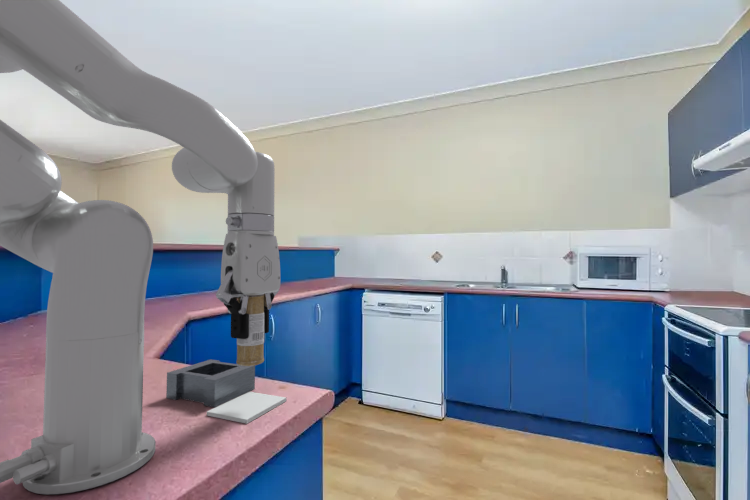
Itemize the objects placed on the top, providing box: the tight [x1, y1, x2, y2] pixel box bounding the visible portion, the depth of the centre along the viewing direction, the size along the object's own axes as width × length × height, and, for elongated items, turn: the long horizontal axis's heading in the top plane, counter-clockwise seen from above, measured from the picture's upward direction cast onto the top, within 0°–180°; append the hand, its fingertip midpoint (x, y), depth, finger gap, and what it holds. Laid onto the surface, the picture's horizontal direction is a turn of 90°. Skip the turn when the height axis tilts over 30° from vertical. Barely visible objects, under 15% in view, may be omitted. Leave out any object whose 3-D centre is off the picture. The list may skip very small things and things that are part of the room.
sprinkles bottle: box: [235, 291, 265, 366], centre depth 63 cm, size 5×5×13 cm
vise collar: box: [166, 358, 256, 408], centre depth 69 cm, size 10×11×4 cm
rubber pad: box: [206, 391, 287, 424], centre depth 62 cm, size 10×8×1 cm
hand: (250, 334), depth 63 cm, fingers closed on sprinkles bottle, 4 cm apart
